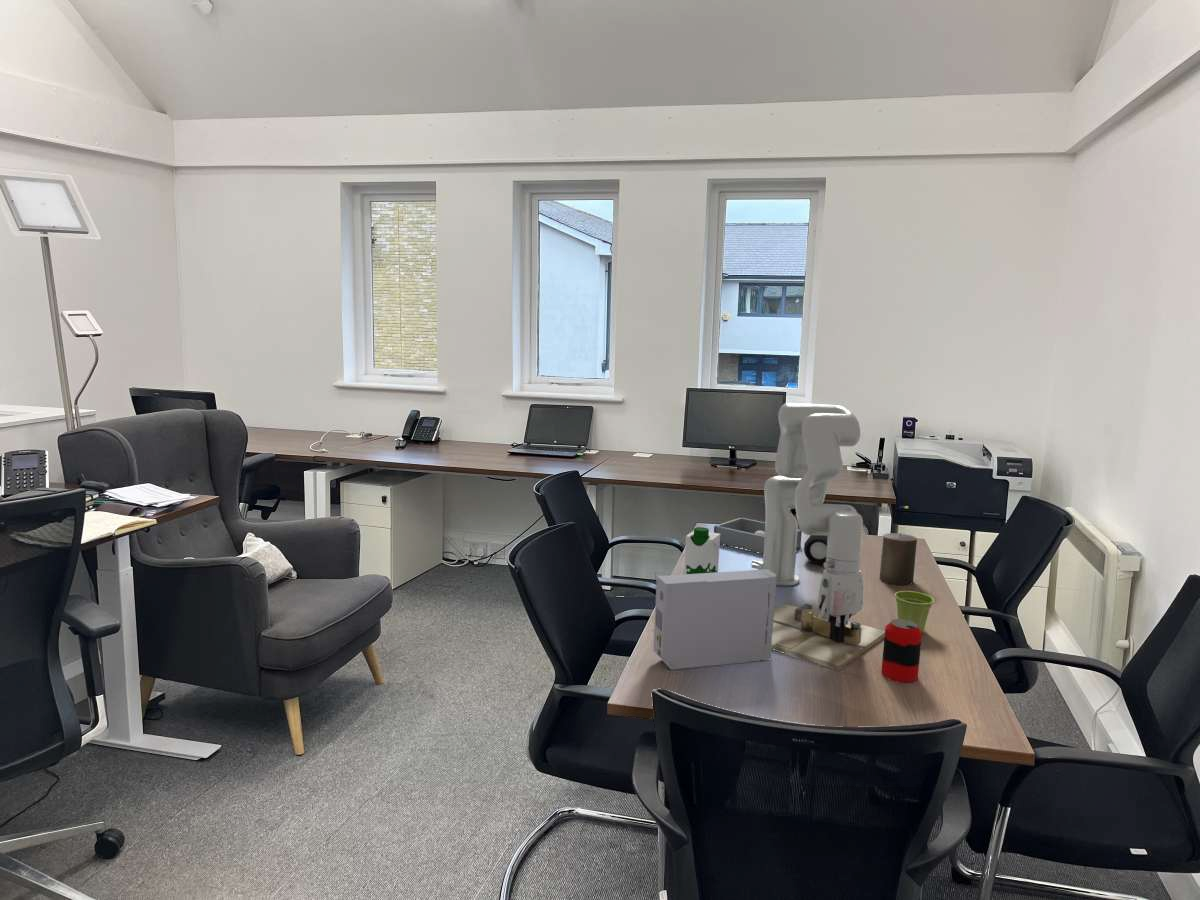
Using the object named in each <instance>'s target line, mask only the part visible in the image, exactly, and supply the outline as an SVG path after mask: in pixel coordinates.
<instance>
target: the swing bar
mask: <svg viewBox="0 0 1200 900" xmlns="http://www.w3.org/2000/svg"><path fill="white" fill-rule="evenodd" d="M819 613H820V612H819V611H817V610H814V609H812V610H811V609H805V610H802V618H801V629H803V630H805V631H810V632H815V633H818V634H821V635H824V636H827V637H830V623H829V622H828V620H824V619H822V618H820V615H819ZM850 622H851V624H847V625H845V638H844V642H846V643H849V644H852V645H855V646H856V645H858V644H860V642H861V631H862V628H861V627H860V625H862V624H861V623H860V622H858V621H857V622H856V621H850Z"/></svg>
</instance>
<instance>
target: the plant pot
mask: <svg viewBox="0 0 1200 900" xmlns="http://www.w3.org/2000/svg"><path fill="white" fill-rule="evenodd" d="M894 597H895V599H896V600H895V601H896V603H897V604H896V607H897V619H904V620H909V621H912V622H914V623H916V624H917V625H918V627H919V628H920V630H921V631H922V633H924V631H925V628H926V623H927V620H928V616H929V613H930V609H931V608H932V605H933V604H934V603H935V599H934V597H932V596H931V595H929V594H926V593H922V592H918V591H914V590H913V591H911V590H900V591H897V592H895V593H894Z"/></svg>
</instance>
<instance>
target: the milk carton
mask: <svg viewBox="0 0 1200 900" xmlns="http://www.w3.org/2000/svg"><path fill="white" fill-rule="evenodd" d="M684 550H685V554H684V570H683V571H684V574H700V573H716V572H719V562H720V561H719V558H720V534H719V533H714V532H711V531H710V529H709V528H707V527H703V526H701V527H700V526H698V527H694V528H693V530H692V531H690V533H688V534H687V535H686V536H685V549H684ZM684 574H683V575H684Z"/></svg>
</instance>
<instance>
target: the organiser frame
mask: <svg viewBox="0 0 1200 900" xmlns="http://www.w3.org/2000/svg"><path fill="white" fill-rule="evenodd" d="M756 531H763V532H765V521H759V520H757V519H750V518H745V517H739V518H735V519H731V520H728V521H726V522H723V523H719V524H717V525H714V526H713V533H719V534H720V544H724V545H723V546H725V545H728V546H727V547H729V546H732V547H731V548H733V547H738V548H743V549H747V550H750V551H749V552H751V551H754V552H753V553H755V552H759V553H763V550H764V536H762V535H757V534H755V532H756ZM802 533H803V532H802V531H801V530H800V528H798V533H797V547H796V548H797V549H798V548H800V547H802V546H801V545H802ZM720 544H719V545H720ZM738 548H737V549H738ZM759 553H758V554H759Z"/></svg>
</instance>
